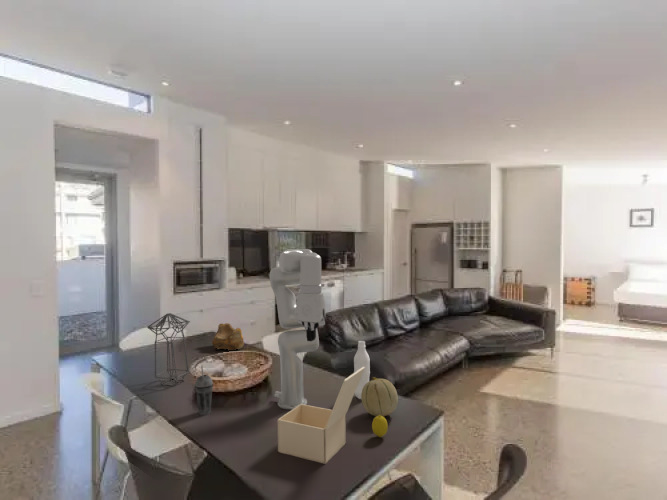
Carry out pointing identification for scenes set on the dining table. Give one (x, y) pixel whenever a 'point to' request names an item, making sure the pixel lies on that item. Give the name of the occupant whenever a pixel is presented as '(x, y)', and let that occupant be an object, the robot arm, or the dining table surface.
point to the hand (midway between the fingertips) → (311, 340)
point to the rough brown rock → (228, 337)
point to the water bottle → (359, 362)
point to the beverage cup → (204, 393)
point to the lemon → (379, 426)
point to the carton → (310, 433)
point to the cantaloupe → (379, 397)
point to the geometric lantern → (170, 343)
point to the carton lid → (344, 397)
